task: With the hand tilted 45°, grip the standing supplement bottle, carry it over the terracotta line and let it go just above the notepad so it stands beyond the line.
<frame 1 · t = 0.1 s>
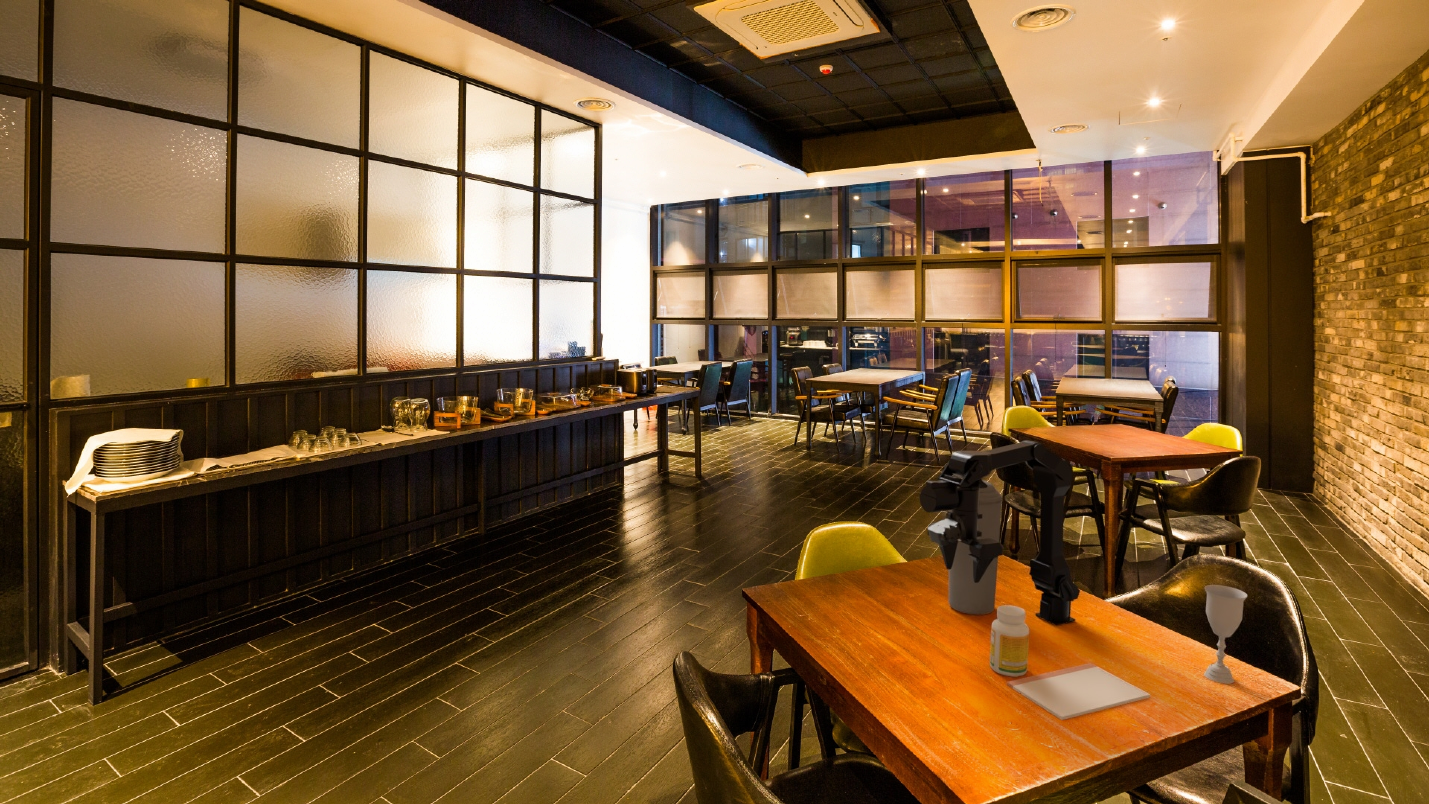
hand: (962, 575, 163), 15 cm above the table, tool pointing down, fingers open, 9 cm apart
notepad: (1077, 691, 140), on the table
supplement bottle: (1008, 670, 149), on the table
chalice: (1218, 678, 145), on the table
canister: (971, 608, 182), on the table
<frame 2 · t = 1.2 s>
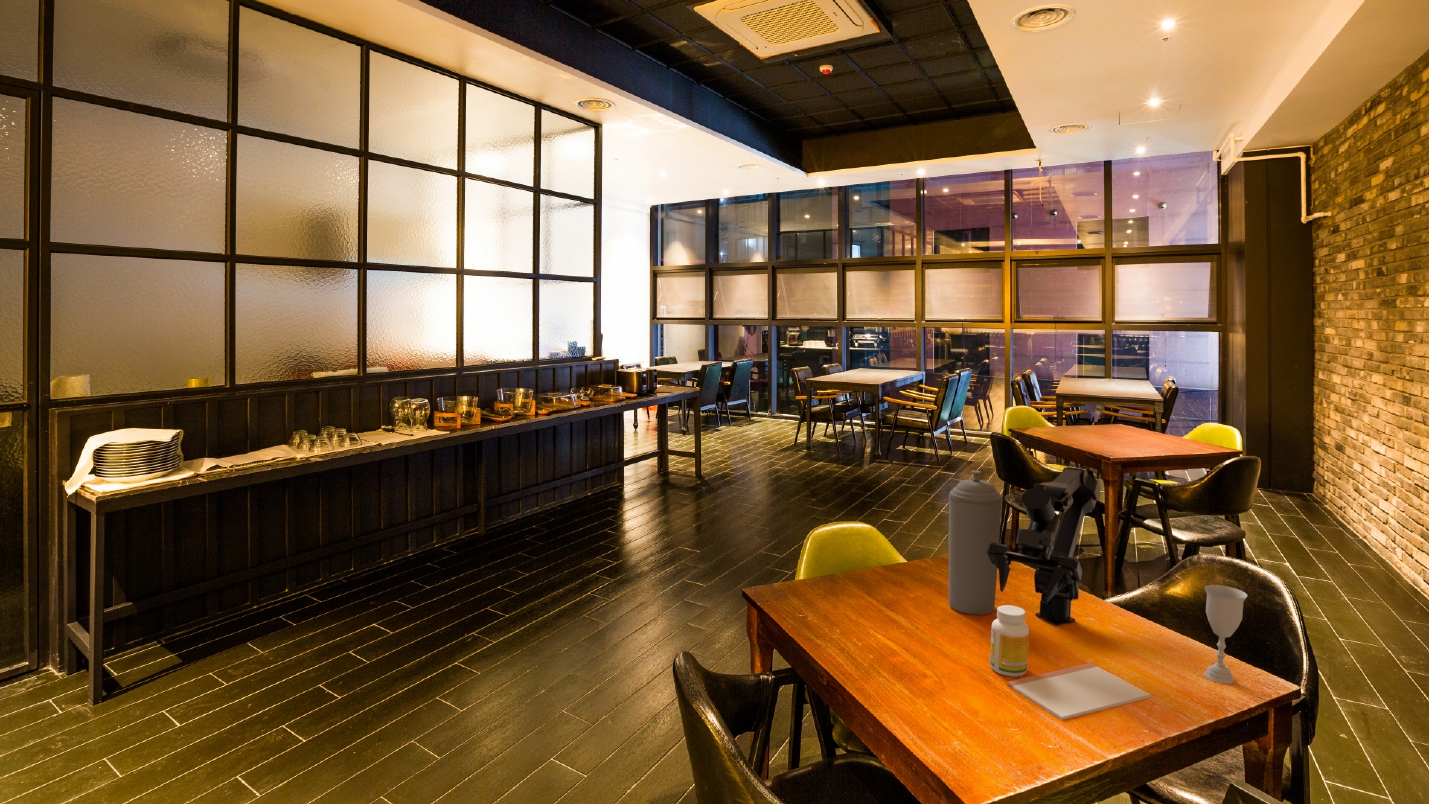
hand: (1023, 596, 154), 13 cm above the table, tool tilted 45°, fingers open, 9 cm apart
nothing on the table moved.
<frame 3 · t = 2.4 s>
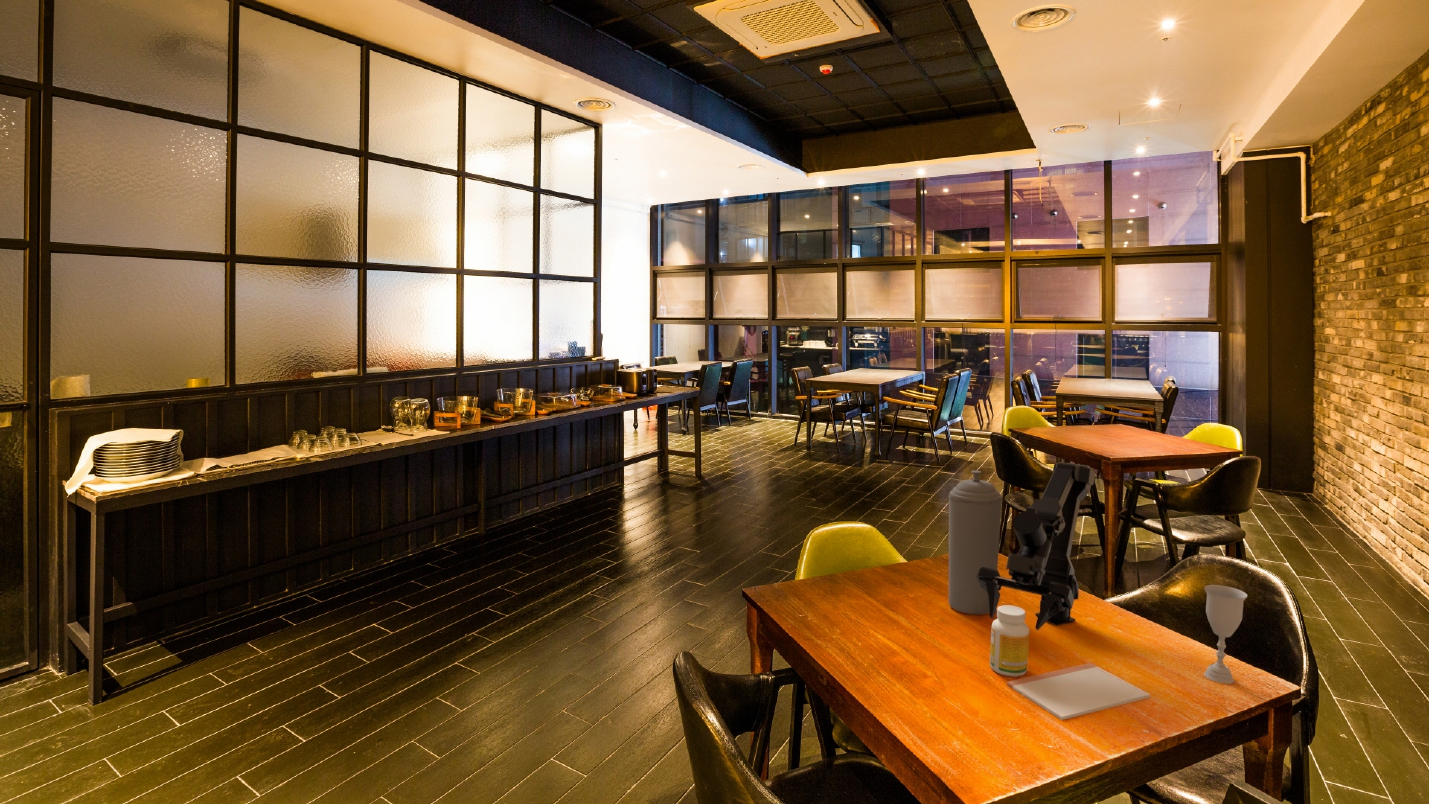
hand: (1013, 623, 150), 9 cm above the table, tool tilted 45°, fingers open, 9 cm apart
nothing on the table moved.
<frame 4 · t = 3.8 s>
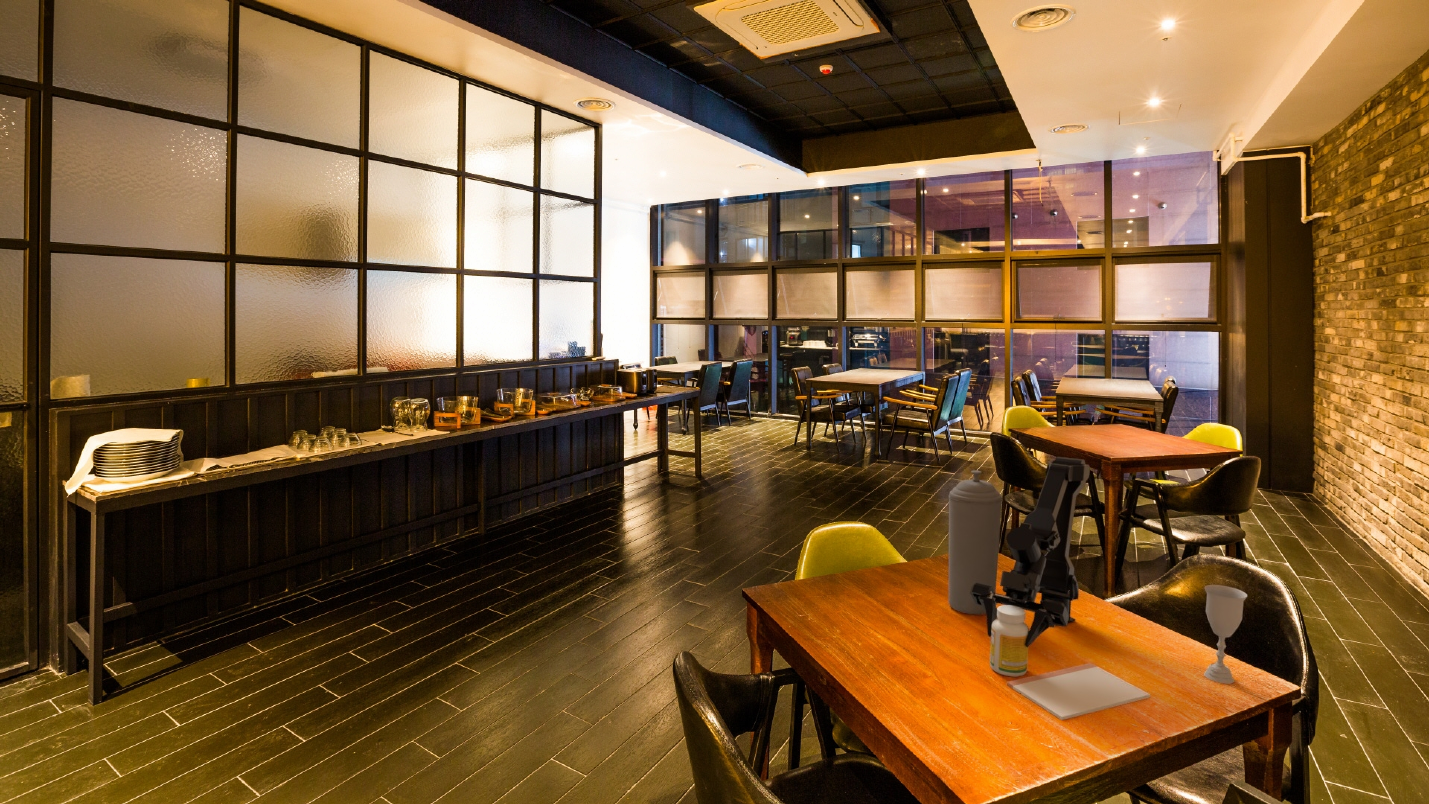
hand: (1007, 641, 147), 7 cm above the table, tool tilted 45°, fingers closed on supplement bottle, 7 cm apart
supplement bottle: (1008, 670, 149), on the table, touching gripper
everything else where it was.
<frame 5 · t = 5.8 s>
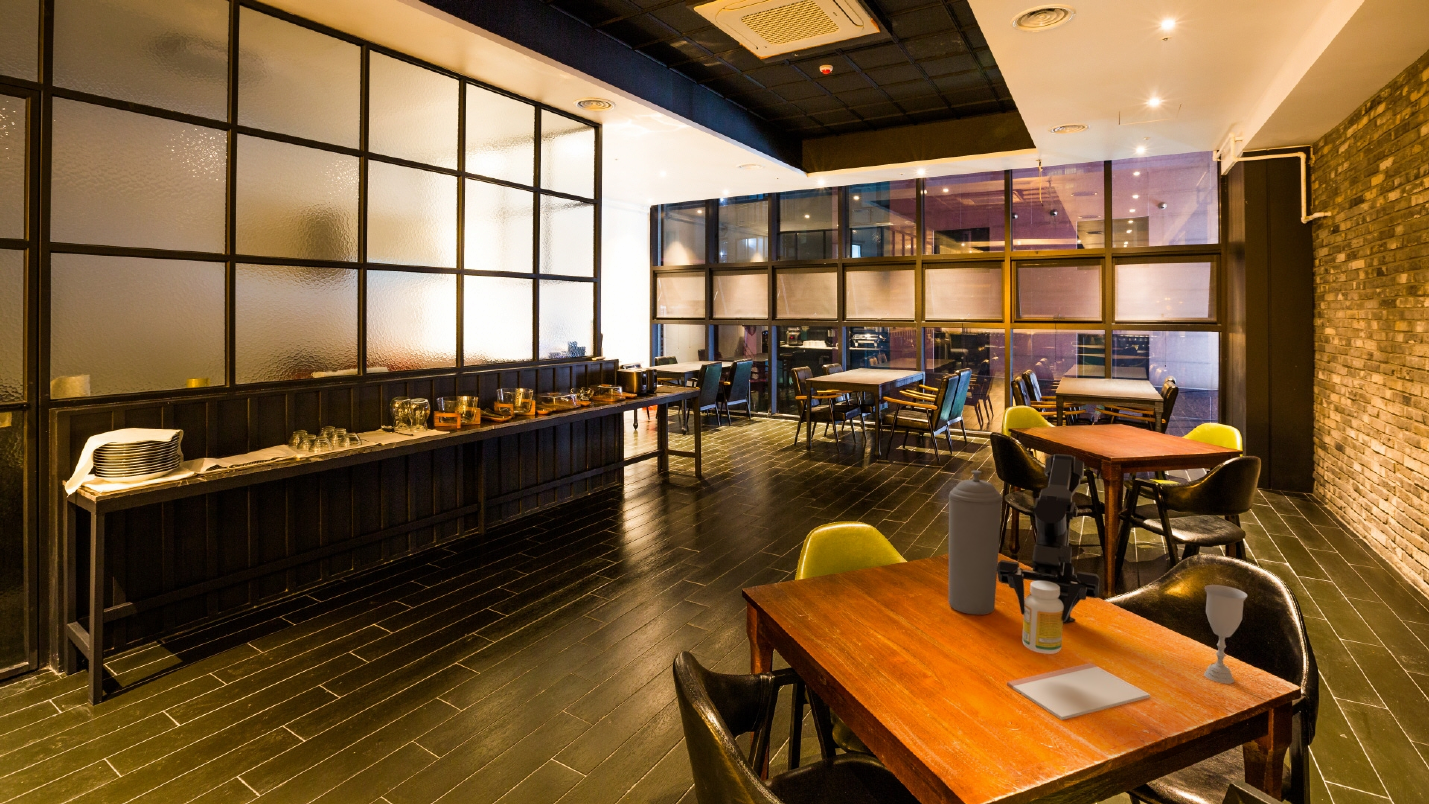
hand: (1042, 617, 143), 13 cm above the table, tool tilted 45°, fingers closed on supplement bottle, 7 cm apart
supplement bottle: (1041, 647, 145), point 6 cm above the table, touching gripper
everything else where it was.
when the fingers open (8 cm above the table, at t = 8.1 s): supplement bottle drops 1 cm, resting on notepad.
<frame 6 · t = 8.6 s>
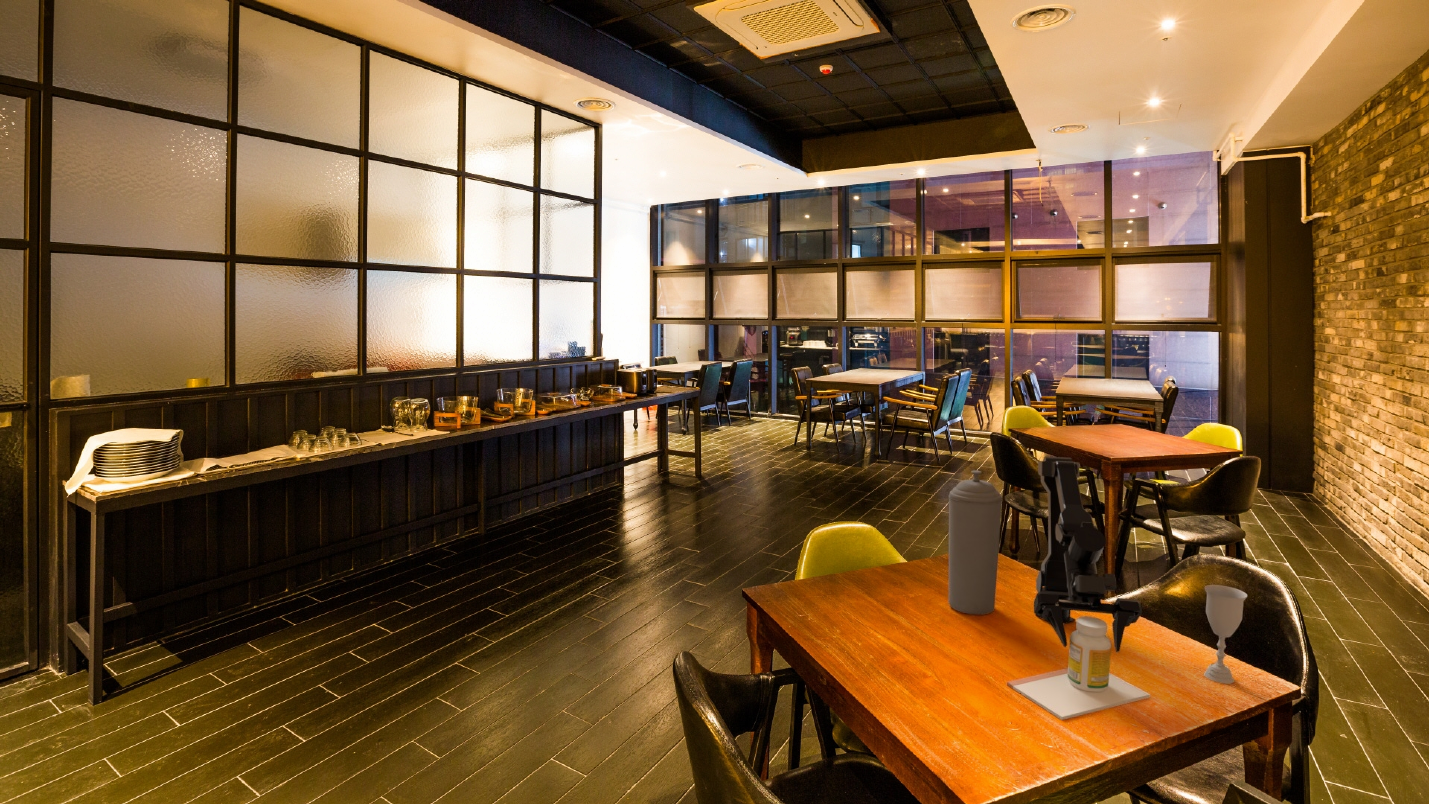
hand: (1091, 649, 139), 9 cm above the table, tool tilted 45°, fingers open, 9 cm apart
supplement bottle: (1087, 685, 142), resting on notepad
everything else where it was.
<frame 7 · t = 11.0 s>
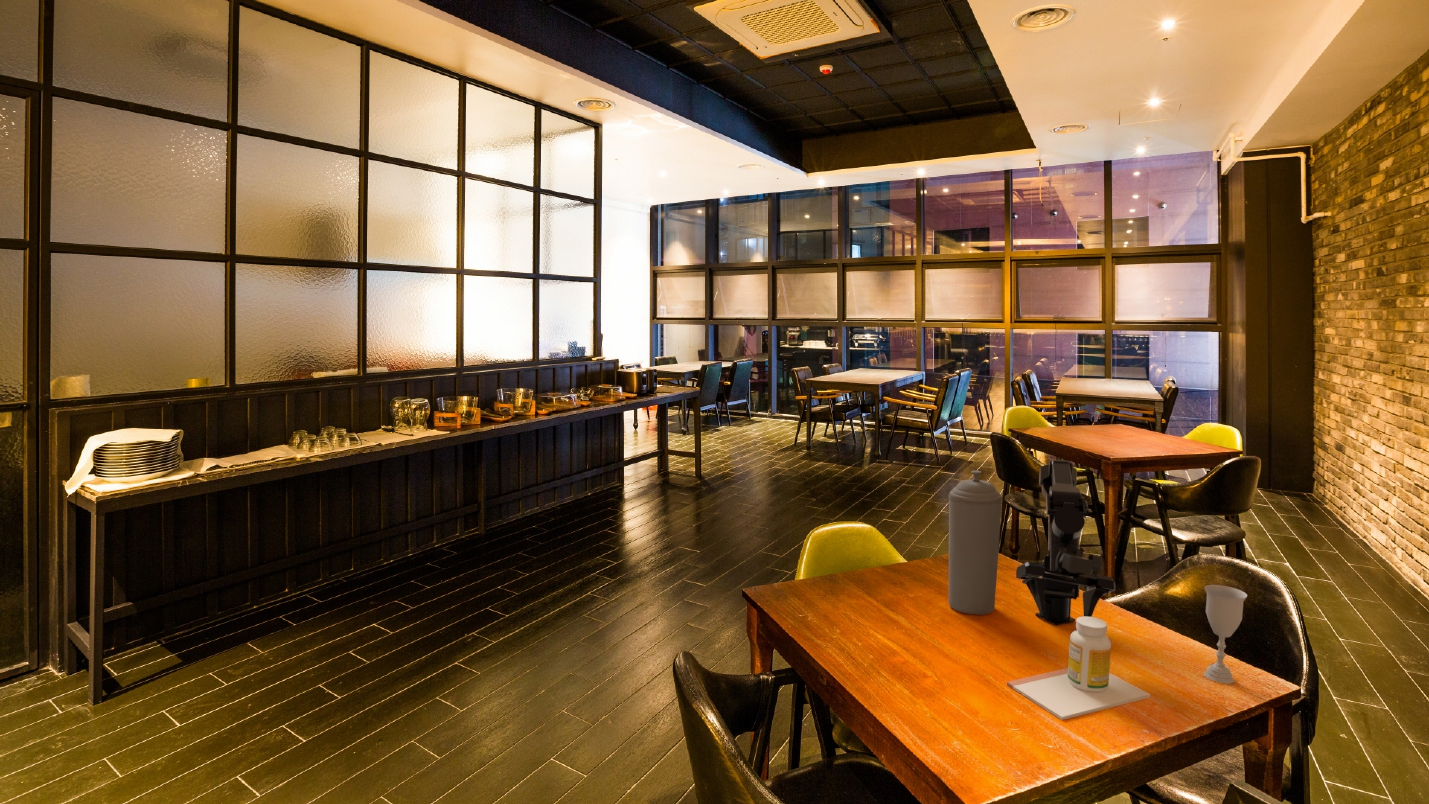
hand: (1064, 619, 151), 9 cm above the table, tool tilted 30°, fingers open, 9 cm apart
nothing on the table moved.
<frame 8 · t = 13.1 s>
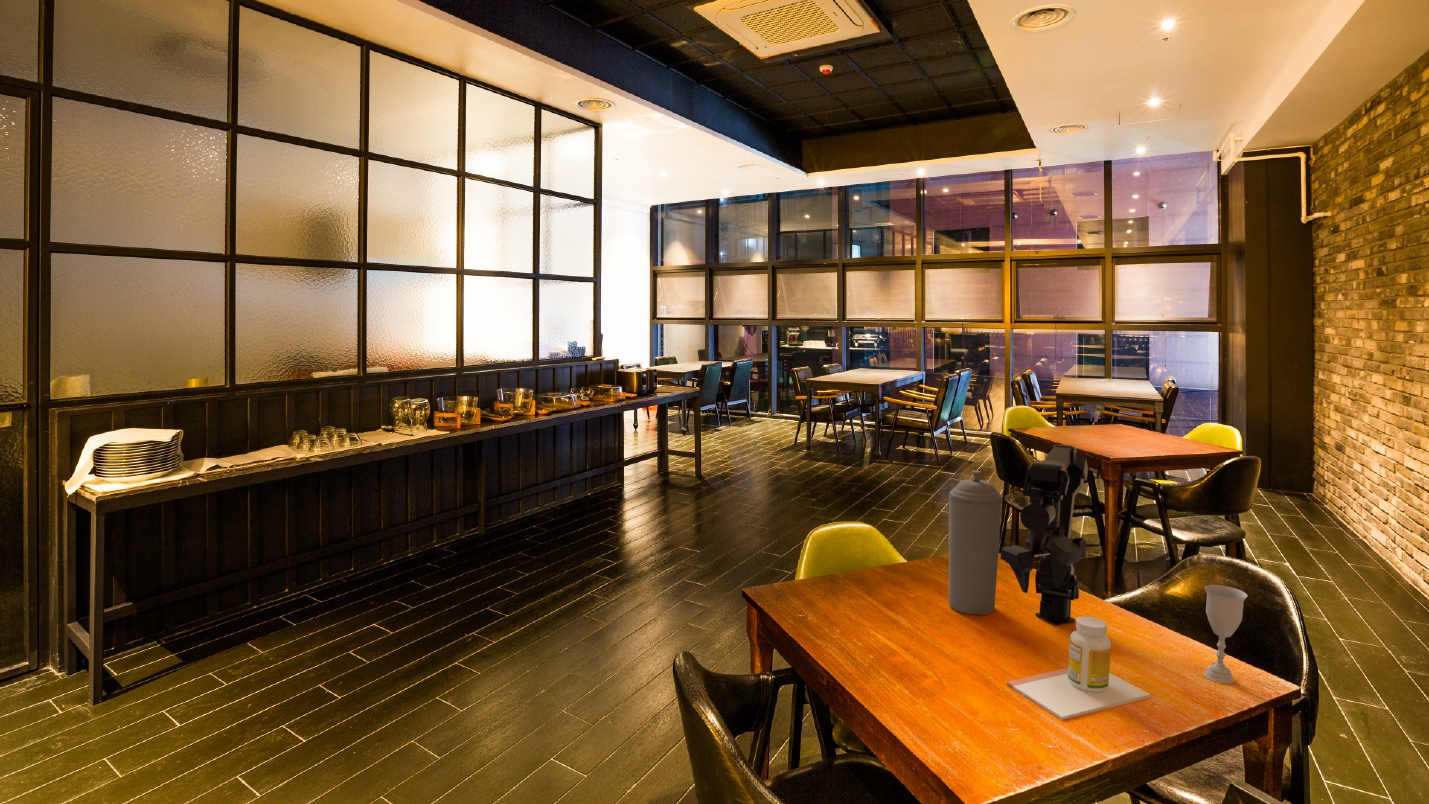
hand: (1041, 589, 158), 13 cm above the table, tool pointing down, fingers open, 9 cm apart
nothing on the table moved.
at the end: supplement bottle inside the target area (3.6 cm from its centre), resting on notepad; supplement bottle tilted 0°; the gripper is holding nothing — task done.
